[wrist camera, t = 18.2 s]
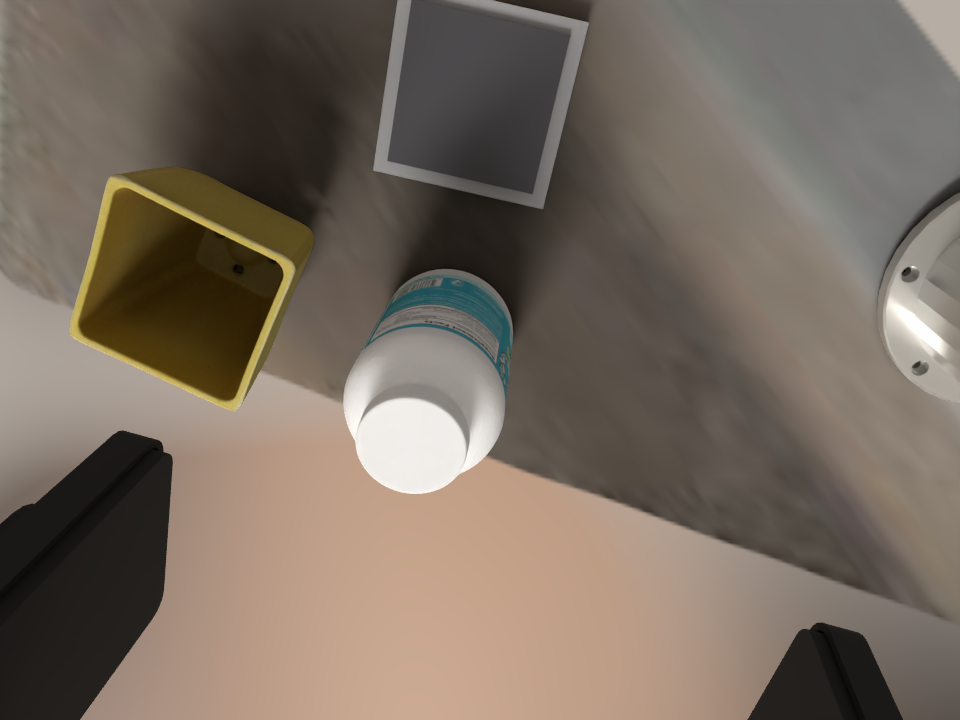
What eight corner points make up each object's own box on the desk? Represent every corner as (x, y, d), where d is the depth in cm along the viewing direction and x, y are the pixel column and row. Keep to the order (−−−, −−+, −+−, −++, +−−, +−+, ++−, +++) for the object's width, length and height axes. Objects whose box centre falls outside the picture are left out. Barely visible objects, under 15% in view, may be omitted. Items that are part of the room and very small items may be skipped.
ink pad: (588, 22, 36) (589, 22, 35) (543, 204, 40) (542, 210, 38) (404, -21, 36) (399, -22, 34) (377, 166, 40) (371, 171, 38)
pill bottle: (466, 406, 45) (433, 551, 33) (363, 337, 44) (288, 462, 32) (541, 313, 42) (535, 435, 30) (433, 237, 41) (381, 332, 29)
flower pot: (293, 343, 44) (235, 417, 36) (155, 276, 43) (63, 337, 35) (349, 214, 41) (298, 263, 33) (199, 138, 40) (108, 169, 32)
